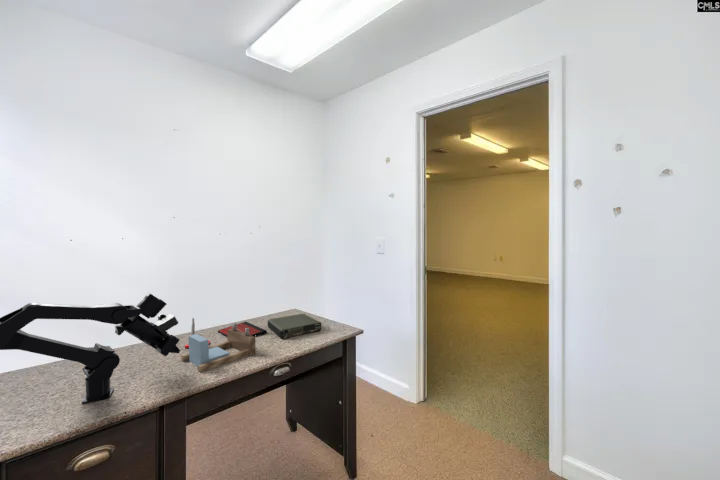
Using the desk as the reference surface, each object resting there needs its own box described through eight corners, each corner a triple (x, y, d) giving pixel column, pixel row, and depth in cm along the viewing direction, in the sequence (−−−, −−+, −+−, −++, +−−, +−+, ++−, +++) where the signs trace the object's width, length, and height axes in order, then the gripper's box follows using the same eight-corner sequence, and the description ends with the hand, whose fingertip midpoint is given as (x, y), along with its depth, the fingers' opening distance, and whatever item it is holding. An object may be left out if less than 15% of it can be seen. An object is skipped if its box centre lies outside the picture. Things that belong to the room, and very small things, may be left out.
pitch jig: (201, 373, 109) (200, 345, 108) (180, 359, 120) (179, 334, 119) (255, 353, 126) (255, 329, 125) (232, 343, 137) (232, 321, 136)
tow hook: (197, 341, 140) (182, 348, 131) (197, 313, 141) (183, 318, 131) (213, 342, 139) (200, 349, 130) (214, 314, 139) (200, 319, 130)
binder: (246, 320, 164) (267, 329, 150) (246, 325, 165) (267, 334, 150) (215, 329, 153) (235, 339, 138) (216, 334, 153) (235, 344, 139)
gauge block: (200, 368, 112) (200, 341, 112) (189, 361, 119) (188, 335, 118) (229, 358, 121) (229, 333, 121) (217, 352, 127) (216, 328, 127)
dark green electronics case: (284, 342, 140) (284, 331, 140) (261, 329, 157) (261, 320, 157) (325, 330, 156) (325, 320, 155) (301, 320, 173) (301, 311, 173)
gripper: (172, 313, 101) (206, 337, 110) (151, 304, 112) (184, 327, 121) (144, 344, 95) (183, 366, 104) (126, 331, 106) (162, 353, 115)
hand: (178, 351), depth 111 cm, fingers closed
